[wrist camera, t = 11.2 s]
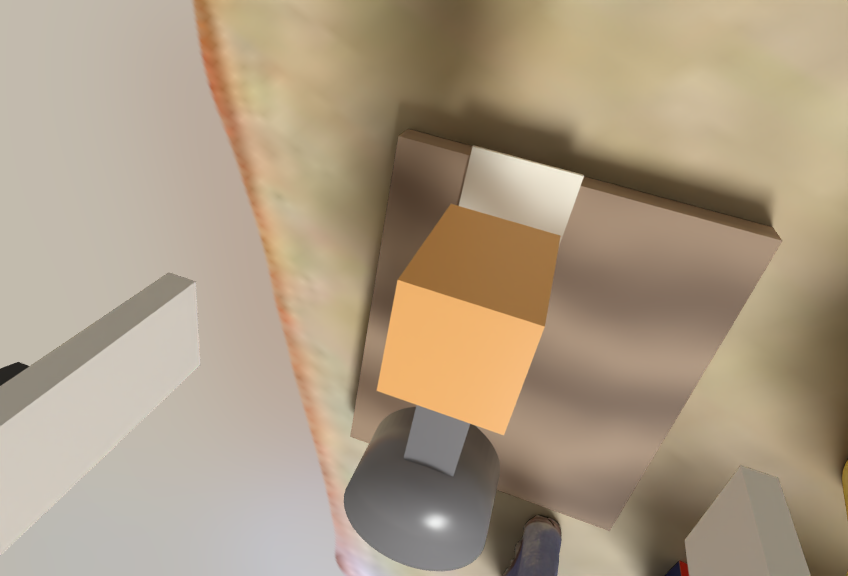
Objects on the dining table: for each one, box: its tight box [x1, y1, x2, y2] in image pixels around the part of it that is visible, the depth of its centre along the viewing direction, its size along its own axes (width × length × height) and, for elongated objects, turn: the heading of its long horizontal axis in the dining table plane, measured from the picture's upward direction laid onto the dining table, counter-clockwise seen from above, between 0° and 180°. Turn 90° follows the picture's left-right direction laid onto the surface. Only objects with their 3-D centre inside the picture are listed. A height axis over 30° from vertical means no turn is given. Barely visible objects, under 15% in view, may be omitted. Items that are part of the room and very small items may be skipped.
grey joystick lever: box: [344, 204, 561, 571], centre depth 21 cm, size 15×6×6 cm, turn 169°
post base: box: [350, 129, 782, 531], centre depth 27 cm, size 20×17×8 cm
